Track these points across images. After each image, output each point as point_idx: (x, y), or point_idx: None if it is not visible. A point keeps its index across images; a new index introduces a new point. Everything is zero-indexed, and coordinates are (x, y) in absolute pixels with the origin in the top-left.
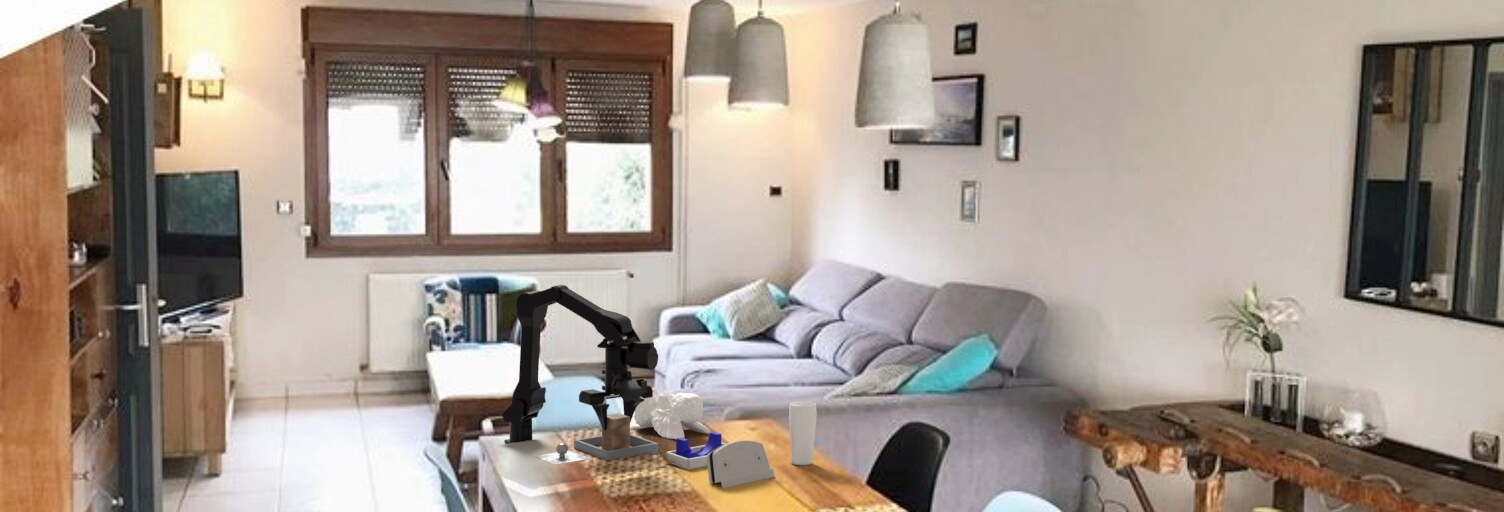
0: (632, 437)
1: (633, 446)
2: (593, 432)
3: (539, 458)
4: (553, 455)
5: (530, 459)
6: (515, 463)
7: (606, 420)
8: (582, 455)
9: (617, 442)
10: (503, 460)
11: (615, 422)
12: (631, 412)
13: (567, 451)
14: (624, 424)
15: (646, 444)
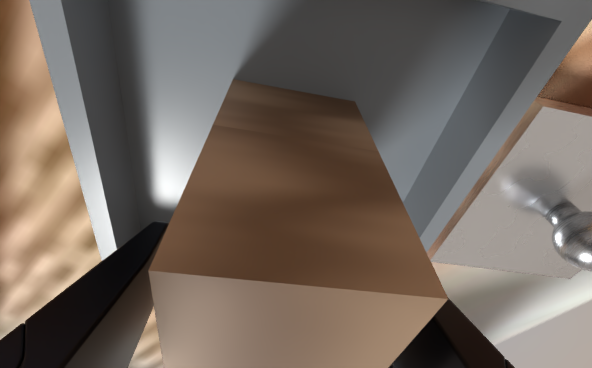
0: (111, 199)
1: (136, 154)
2: (140, 353)
3: None
4: (538, 247)
5: (518, 282)
6: (587, 278)
7: (446, 322)
8: (492, 177)
9: (333, 129)
10: (557, 310)
11: (398, 254)
12: (52, 350)
13: (449, 255)
14: (264, 207)
15: (87, 33)
